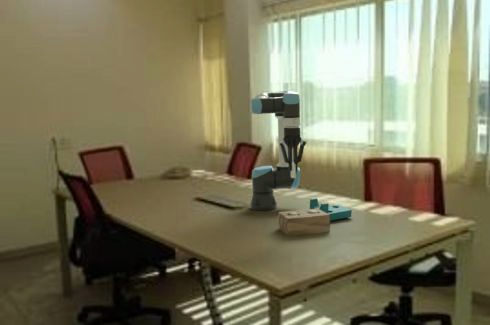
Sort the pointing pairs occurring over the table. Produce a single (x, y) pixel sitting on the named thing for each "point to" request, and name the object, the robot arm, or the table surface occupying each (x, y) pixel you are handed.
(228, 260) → the table surface
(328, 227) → the socket block
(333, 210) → the teal l-shaped bracket
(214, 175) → the table surface
